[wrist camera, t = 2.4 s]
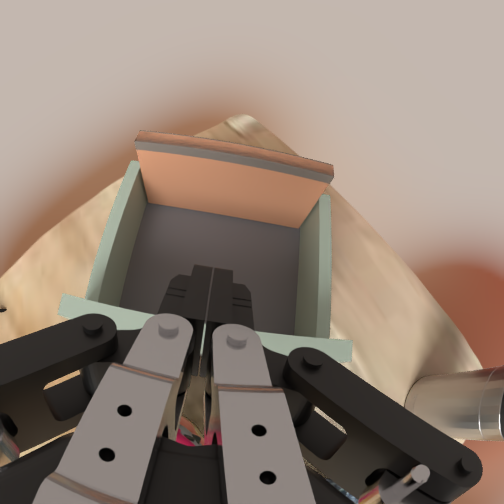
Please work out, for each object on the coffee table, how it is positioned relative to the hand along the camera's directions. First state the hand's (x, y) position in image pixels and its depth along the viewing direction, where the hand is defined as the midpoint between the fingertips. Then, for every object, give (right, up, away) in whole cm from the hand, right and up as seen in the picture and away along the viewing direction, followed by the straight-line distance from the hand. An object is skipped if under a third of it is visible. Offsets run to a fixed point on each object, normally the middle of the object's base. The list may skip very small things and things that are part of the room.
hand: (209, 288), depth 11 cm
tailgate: (-1, +7, +21) cm, 22 cm away
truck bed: (-3, -3, +23) cm, 24 cm away
